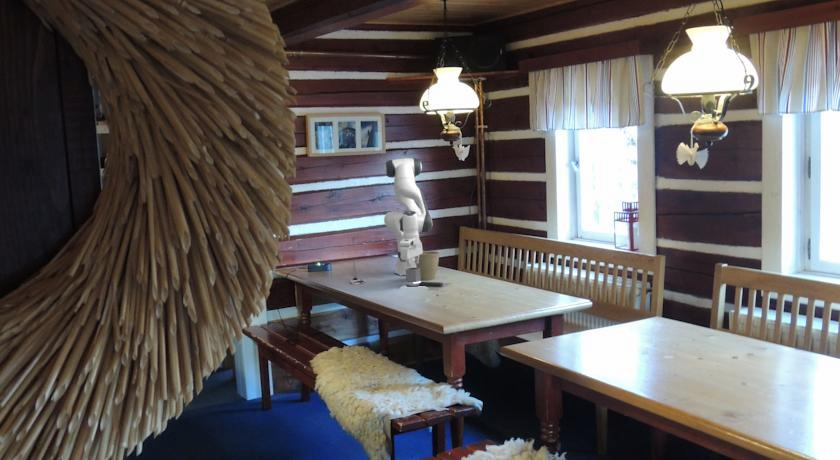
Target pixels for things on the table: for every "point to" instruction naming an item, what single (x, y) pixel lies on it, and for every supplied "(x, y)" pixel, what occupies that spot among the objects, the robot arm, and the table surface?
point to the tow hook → (354, 271)
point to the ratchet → (424, 284)
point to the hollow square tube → (413, 275)
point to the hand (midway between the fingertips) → (412, 265)
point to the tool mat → (439, 287)
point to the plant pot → (428, 264)
